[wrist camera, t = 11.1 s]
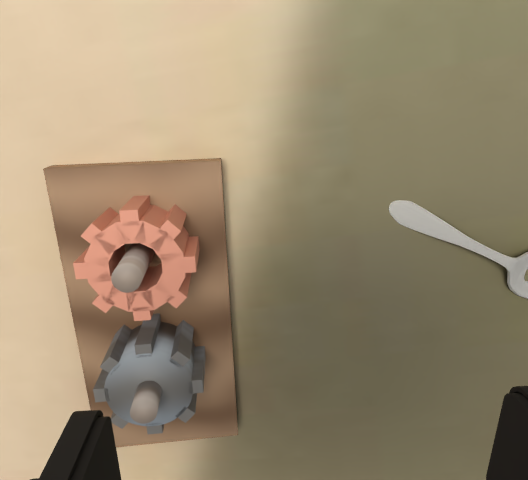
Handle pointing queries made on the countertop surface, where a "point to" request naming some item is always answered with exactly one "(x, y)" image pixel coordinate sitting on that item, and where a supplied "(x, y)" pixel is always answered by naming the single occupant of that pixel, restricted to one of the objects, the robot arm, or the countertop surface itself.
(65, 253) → the gear board
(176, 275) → the pink gear
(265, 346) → the countertop surface
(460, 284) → the countertop surface
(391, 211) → the spoon
